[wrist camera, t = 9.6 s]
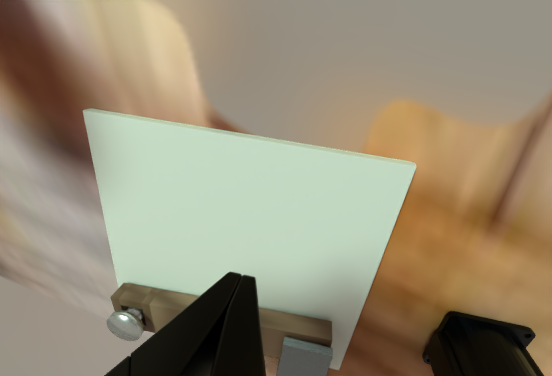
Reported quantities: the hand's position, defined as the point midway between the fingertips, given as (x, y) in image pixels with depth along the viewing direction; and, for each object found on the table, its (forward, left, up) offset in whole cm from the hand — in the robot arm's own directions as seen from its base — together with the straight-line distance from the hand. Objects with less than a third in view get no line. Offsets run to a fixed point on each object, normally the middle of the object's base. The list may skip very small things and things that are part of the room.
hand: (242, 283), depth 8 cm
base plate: (+4, +10, -12) cm, 16 cm away
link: (+4, +17, -11) cm, 20 cm away
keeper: (-4, +18, -12) cm, 22 cm away
